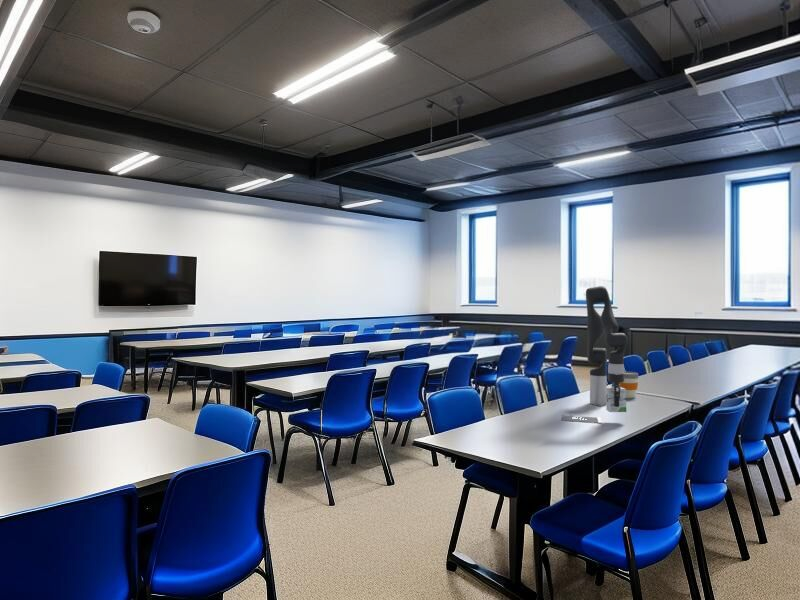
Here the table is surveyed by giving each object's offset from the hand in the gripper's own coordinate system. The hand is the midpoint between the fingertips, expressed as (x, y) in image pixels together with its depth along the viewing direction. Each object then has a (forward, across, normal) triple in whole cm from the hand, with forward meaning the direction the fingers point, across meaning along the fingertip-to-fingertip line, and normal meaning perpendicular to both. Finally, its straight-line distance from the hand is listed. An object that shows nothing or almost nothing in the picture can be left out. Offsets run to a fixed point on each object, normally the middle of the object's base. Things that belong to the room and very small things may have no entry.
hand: (616, 405), depth 257 cm
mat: (+8, 0, -17) cm, 19 cm away
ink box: (+3, 0, 0) cm, 3 cm away
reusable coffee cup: (+10, -71, +13) cm, 73 cm away
